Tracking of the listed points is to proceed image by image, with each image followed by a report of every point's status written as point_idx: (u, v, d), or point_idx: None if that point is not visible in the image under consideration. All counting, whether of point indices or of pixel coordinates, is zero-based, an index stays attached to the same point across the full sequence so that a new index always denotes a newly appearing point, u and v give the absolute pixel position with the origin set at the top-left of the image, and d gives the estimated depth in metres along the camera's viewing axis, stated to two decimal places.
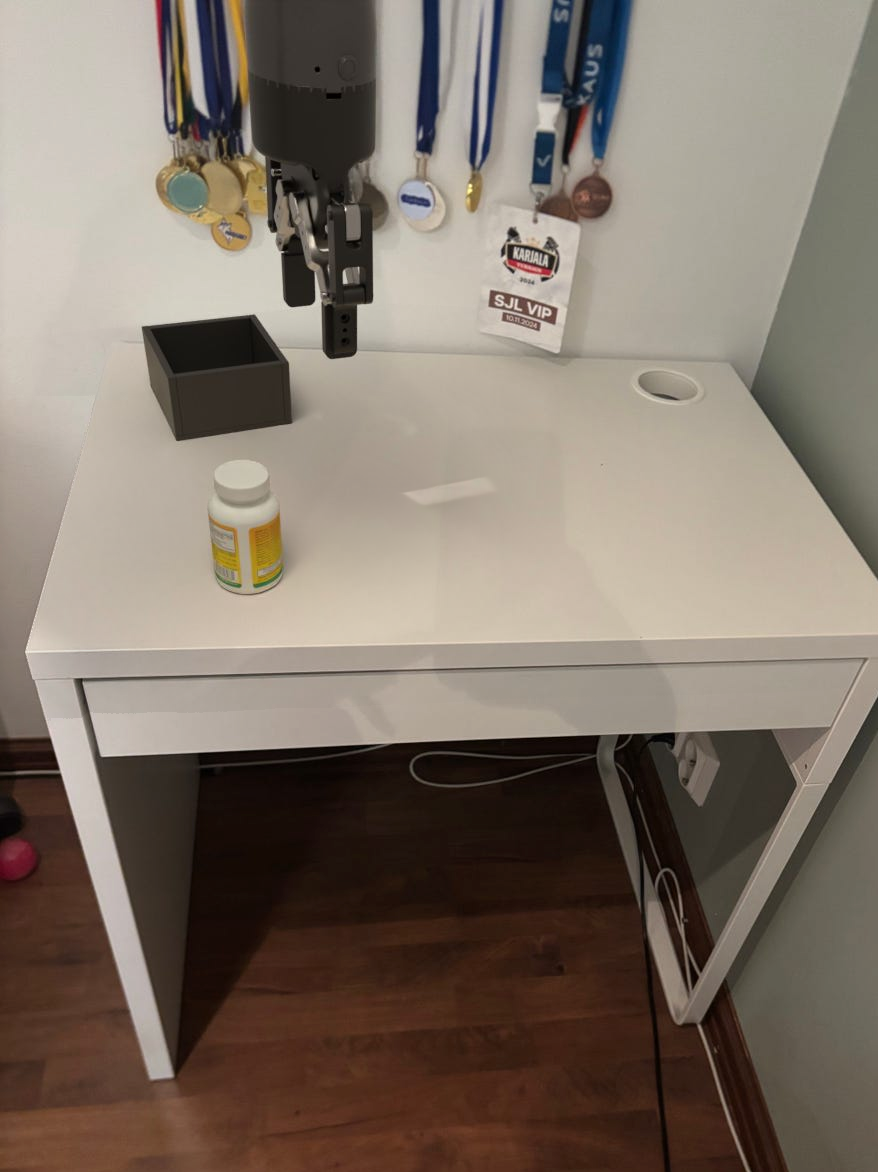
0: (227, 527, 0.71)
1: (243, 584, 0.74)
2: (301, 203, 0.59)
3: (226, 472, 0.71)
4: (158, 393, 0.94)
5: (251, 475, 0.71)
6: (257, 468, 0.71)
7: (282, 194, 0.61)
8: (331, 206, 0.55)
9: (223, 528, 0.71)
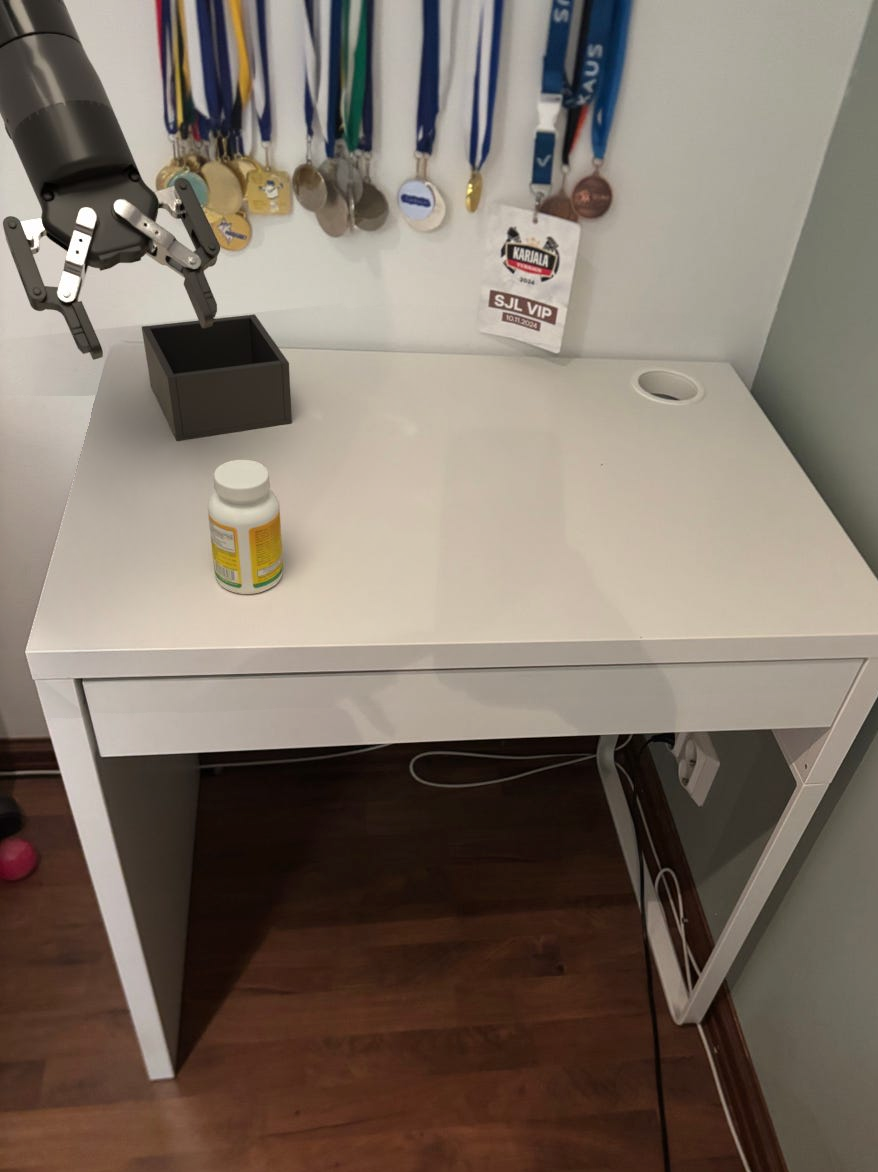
0: (227, 527, 0.71)
1: (243, 584, 0.74)
2: None
3: (226, 472, 0.71)
4: (158, 393, 0.94)
5: (251, 475, 0.71)
6: (257, 468, 0.71)
7: (95, 215, 0.68)
8: (181, 178, 0.71)
9: (223, 528, 0.71)
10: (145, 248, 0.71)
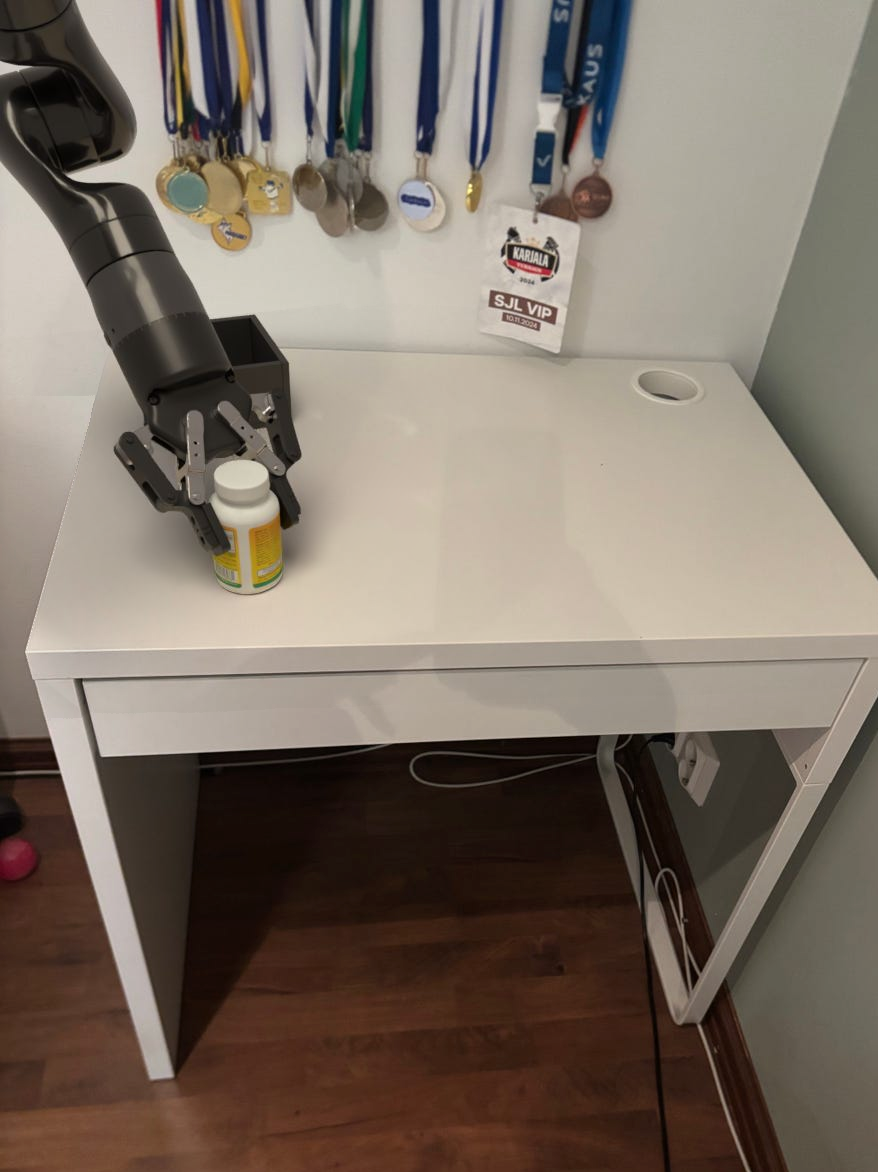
0: (227, 528, 0.71)
1: (243, 584, 0.74)
2: None
3: (226, 472, 0.71)
4: None
5: (251, 475, 0.71)
6: (257, 468, 0.71)
7: (201, 415, 0.70)
8: (277, 387, 0.74)
9: (223, 528, 0.71)
10: None
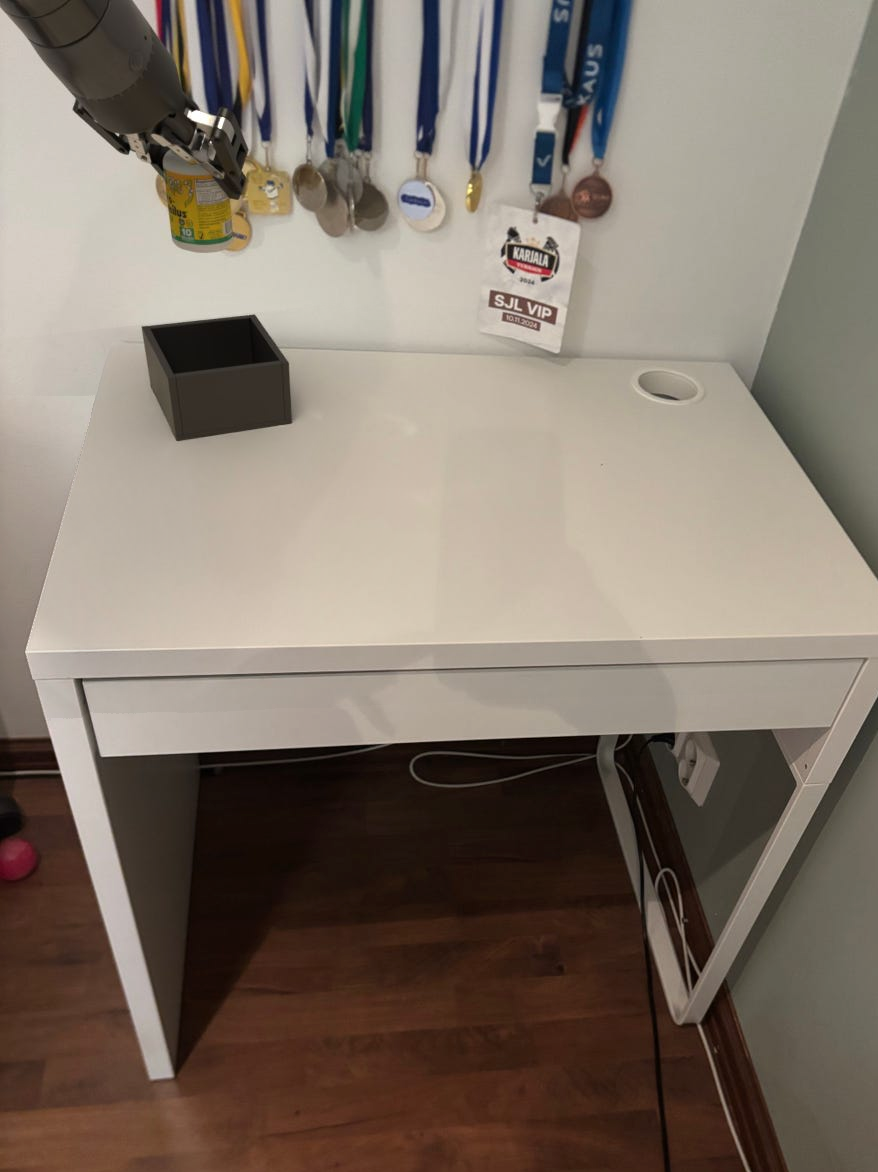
0: None
1: None
2: None
3: (195, 130, 0.79)
4: (158, 393, 0.94)
5: None
6: None
7: None
8: None
9: None
10: None
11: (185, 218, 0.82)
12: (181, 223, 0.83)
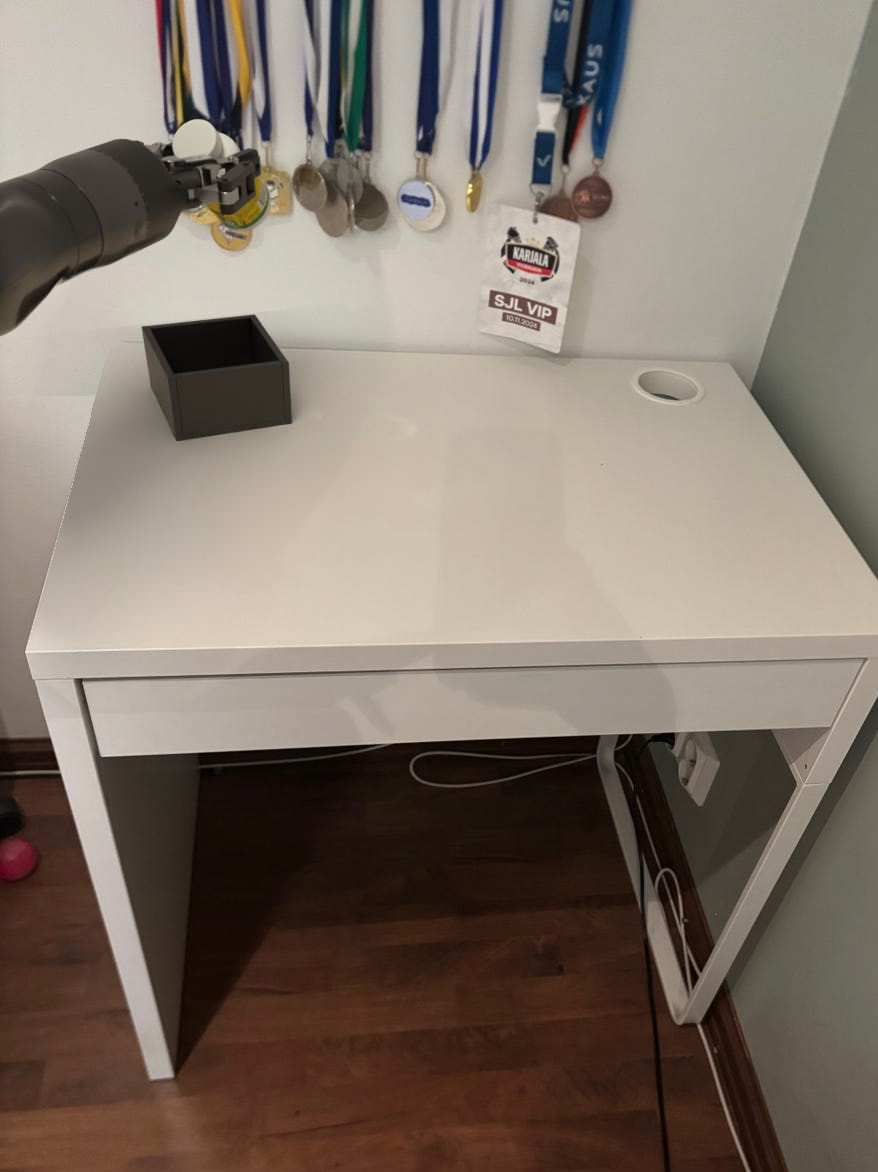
0: None
1: (263, 182, 0.87)
2: None
3: (199, 150, 0.79)
4: (158, 393, 0.94)
5: (191, 133, 0.79)
6: (180, 137, 0.79)
7: (163, 157, 0.75)
8: None
9: None
10: None
11: (224, 216, 0.85)
12: (222, 218, 0.86)
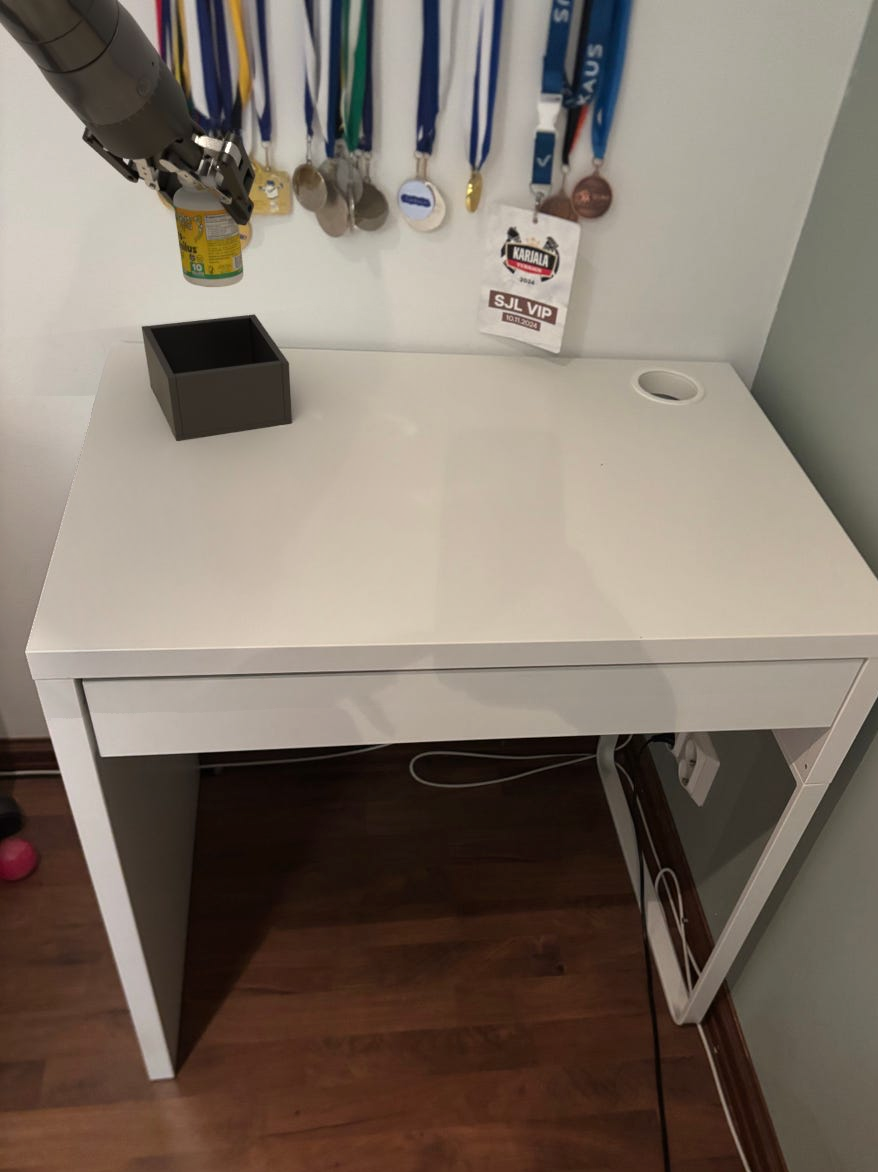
0: None
1: None
2: None
3: None
4: (158, 393, 0.94)
5: None
6: None
7: None
8: None
9: None
10: None
11: (195, 253, 0.83)
12: (192, 258, 0.84)
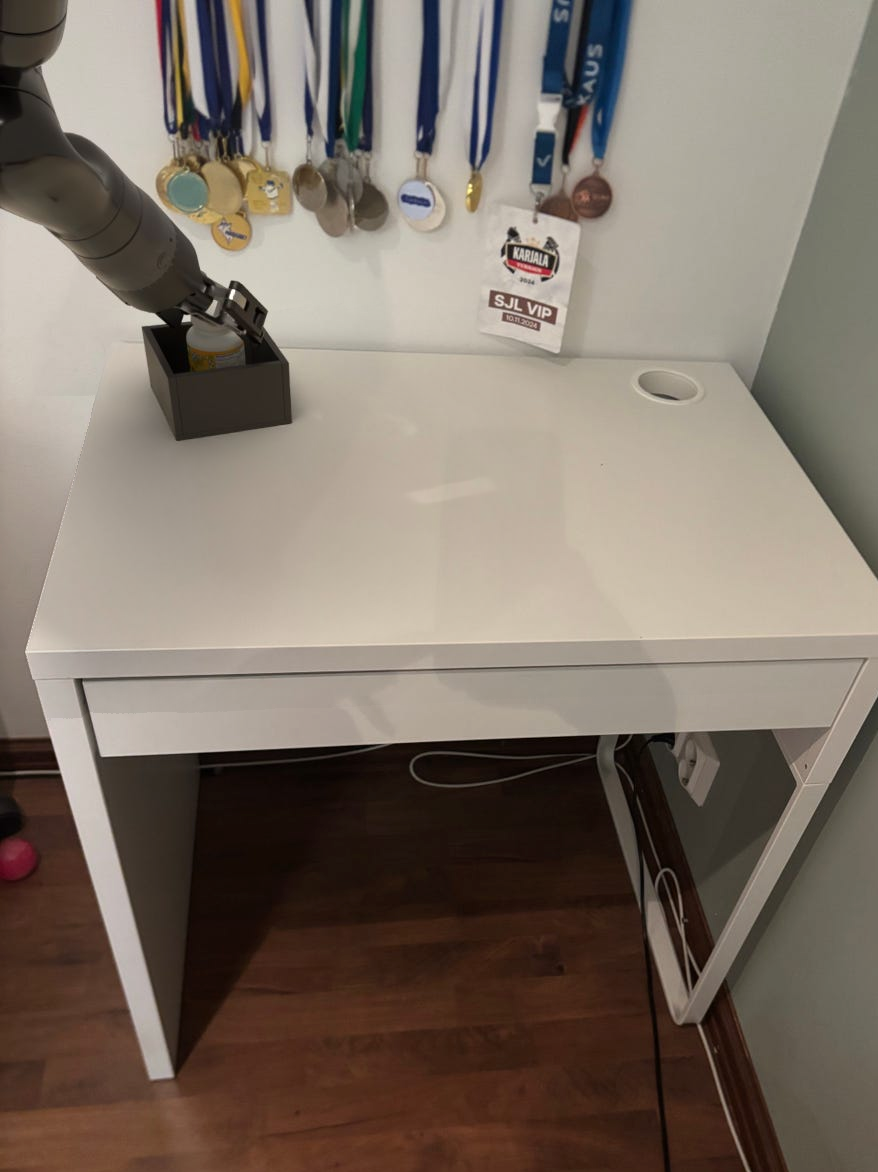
0: None
1: None
2: None
3: None
4: (158, 393, 0.94)
5: None
6: None
7: None
8: None
9: (243, 342, 0.93)
10: None
11: None
12: None
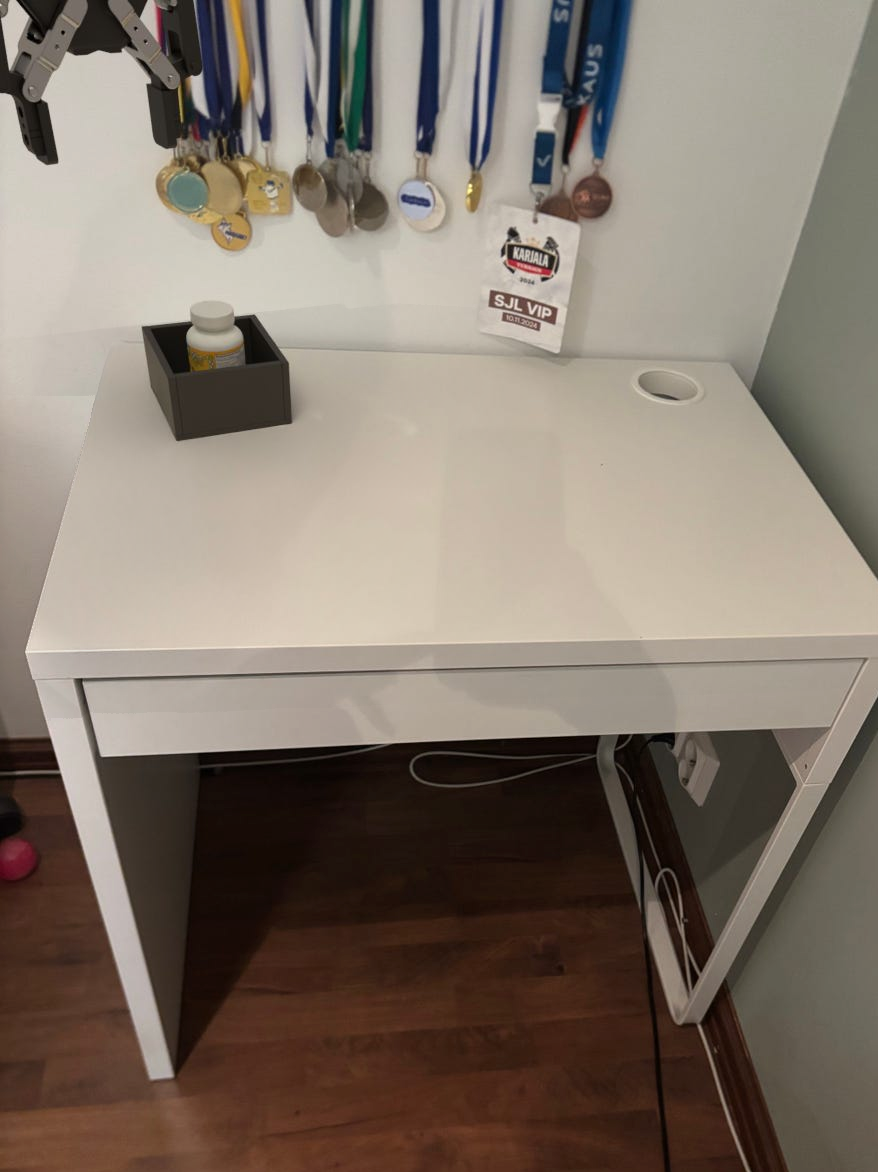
0: (243, 340, 0.93)
1: None
2: None
3: (215, 313, 0.90)
4: (158, 393, 0.94)
5: (210, 305, 0.91)
6: (199, 305, 0.91)
7: None
8: None
9: (243, 342, 0.93)
10: None
11: None
12: None
